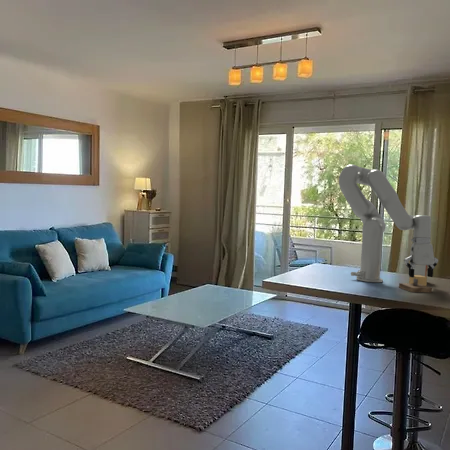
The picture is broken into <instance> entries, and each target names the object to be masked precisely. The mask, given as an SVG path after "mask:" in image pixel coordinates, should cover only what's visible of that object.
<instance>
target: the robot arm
mask: <svg viewBox="0 0 450 450" xmlns="http://www.w3.org/2000/svg"><path fill="white" fill-rule="evenodd" d="M358 184H360V185H363V186H368V187H370V189H371V190H372V192H373V193H374V194H375V195H376V197H377V199H378V200H379V201H380V203H381V205H382V207H383V208H384V210H385V211H386V212H387V214H388V216H389V217H390V219H391V220H392V222H393V223H394V225H395V226H396V227H397V228H398V229H399V230H400V231H408V230H413V237H412V238H411V239H410V241H411V242H412V243H411V246H410V253H409V256H407V257H405V258H404V259H403V261H404V263H405V266H406V267H407V268H408V277H414V267H415V265H427V266H428V270H427V277H429V278H433V276H434V269H435V267H436V266H437V265H438V263H439V259H438V258H437V257H435V256H434V255H435V253H434V247H433V244H432V243H431V237H432V231H431V230H432V218H431V216H430V215H426V214H425V215H424V214H423V215H421V214H418V215H417V214H416V215H412V214H409V213H408V211H406V209H405V207H404V205H403V204H402V202H401V200H400V198H399V194H398V193H397V191H396V190H395V188H394V187H393V186H392V184H391V183H390V181H389V180H388V179H387V177H386V174H385V173H384V172H383V171H382V170H380V169H370V168H366V167H362V166H358V165H356V164H348V165H346V166H345V167H344V168H343V169H342V170H341V172H340V174H339V178H338V185H339V189H340V191H341V193H342V195H343V197H344V198H345V200H346V202H347V204H348V205H349V207H350V209H351V211H352V212H353V214H354V215H355V216H356V217H358V218H359V219H360V221H361V222H362V224H363V225H362V229H361V231H362V232H361V233H362V234H361V235H362V236H361V237H362V240H361V241H362V242H361V243H362V244H361V255H360V268H359V270H357V271H351V272H350V276H352V277H354V276H355V277H356V280H358V281H360V282H366V283H382V282H383V281H384V279H383V278H381V277H380V276H381V265H382V264H381V263H382V253H383V234H384V232H385V231H386V222H385V221H384V219H383V217H382V215H381V214H380V212H379V211H378V209H377V207H376V206H375V205H374V204H373V202H372V201H370V200H369V199H367V198H366V197H365V195H364V193H363V192H362V190H361V188H360V187H359V185H358Z"/></svg>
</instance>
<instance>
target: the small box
mask: <svg viewBox="0 0 450 450" xmlns="http://www.w3.org/2000/svg"><path fill="white" fill-rule="evenodd" d="M428 268H429V267H428V266H427V265H415V267H414V268H413V269H414V275H421V276H425V277H427V278H428V276H427V273H428Z"/></svg>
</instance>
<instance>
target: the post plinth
mask: <svg viewBox="0 0 450 450" xmlns="http://www.w3.org/2000/svg"><path fill="white" fill-rule="evenodd" d="M398 285H399V286H398V288H400V289H402V290H405V291H407V292H410V293H433V292H432V291H433V288H432V287H430V286H427V285H426V286H424V285H421V284H418V279H414V282H413V284H409V282H408V283H406V282H404V283H403V282H400V283H399V284H398Z"/></svg>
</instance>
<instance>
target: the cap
mask: <svg viewBox="0 0 450 450" xmlns="http://www.w3.org/2000/svg"><path fill="white" fill-rule="evenodd" d="M408 277H409V276H408ZM414 279H418V284H421V285H424V286H427V282H428V281H427V280H428V276H427V277H425V276H421V275H414V277H409V278H408V284H413V282H414Z"/></svg>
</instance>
